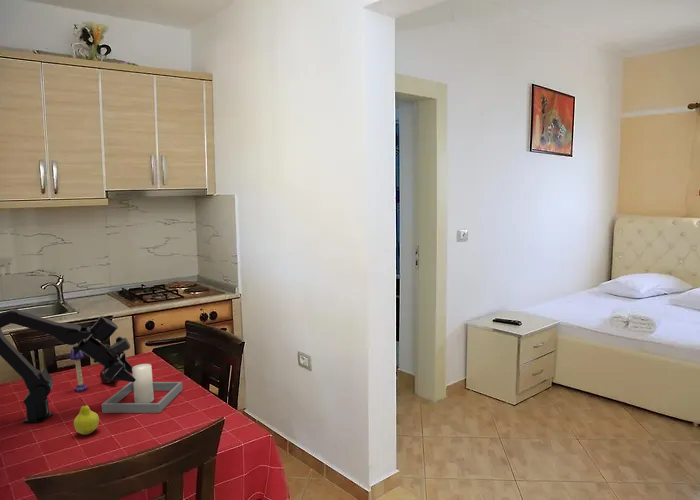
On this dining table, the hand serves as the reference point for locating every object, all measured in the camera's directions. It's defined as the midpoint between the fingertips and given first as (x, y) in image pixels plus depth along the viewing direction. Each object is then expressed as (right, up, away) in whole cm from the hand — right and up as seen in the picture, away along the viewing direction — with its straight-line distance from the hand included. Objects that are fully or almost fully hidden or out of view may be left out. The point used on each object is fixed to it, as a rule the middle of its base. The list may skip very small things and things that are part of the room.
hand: (134, 376), depth 183 cm
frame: (+3, -9, +2) cm, 10 cm away
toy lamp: (-26, -9, +14) cm, 31 cm away
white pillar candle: (+3, -9, +2) cm, 10 cm away
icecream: (-18, -8, +21) cm, 29 cm away
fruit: (-6, -13, -22) cm, 26 cm away
